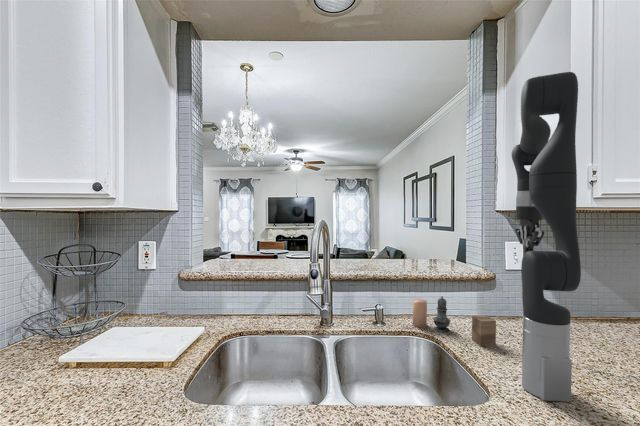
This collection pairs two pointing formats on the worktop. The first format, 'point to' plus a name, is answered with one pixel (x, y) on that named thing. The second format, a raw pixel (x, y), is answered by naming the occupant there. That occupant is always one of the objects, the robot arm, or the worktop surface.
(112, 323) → the worktop surface
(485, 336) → the walnut block
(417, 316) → the terracotta canister
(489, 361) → the worktop surface
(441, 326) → the dark grey turned piece
